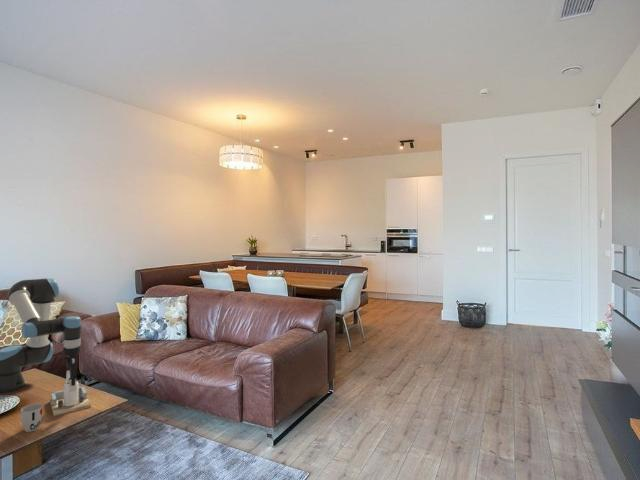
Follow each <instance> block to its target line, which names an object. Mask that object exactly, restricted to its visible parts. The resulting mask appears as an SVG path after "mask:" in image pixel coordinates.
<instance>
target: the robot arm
mask: <svg viewBox="0 0 640 480" xmlns="http://www.w3.org/2000/svg"><path fill="white" fill-rule="evenodd" d="M59 295H60V287H59V283H58V282H57V280H56V279H55V278H36V279H35V278H33V279H23V280H20V281H18V282H16V283H14V284H13V285H12V286H11V287H10V288H9V290H8V292H7V299H8V302H9V304H11V305H12V306H14V308H15V310H16V312H17V315H19V317H20V320H21V322H22V325H21V329H20V331H21V335H22V337H23V338H24V339H29V340H28V341H27V342H26V345H25V346H22V345H19V344H18V345H16V344H15V345H9V346H5V347H3V348H1V349H0V393H1V394H2V393H8V392H13V391H16V390H19V389H22V388H23V387H24V386H25V385H26V380H25V378H24V375H23V373H22V368H23V367H30V366H33V365H38V364H39V365H40V364H44V363H47V362H49V361H50V360H51V358H52V357H53V354H54V345H53V343H52V342H51V341H50V339H48V335H55V334H60V333H62V334H63V337H62V338H63V341H62V342H61V344H63V345H62V347H63V348H62V354H63V356H64V357H66V363H65V364H66V365H65V368H66V371H65V372H66V374H65V375H66V377H65V380H66V381H68V380H70V390H69V392H73V391H76V380H77V378H78V373H77V372H78V371H77V357H76V356H77V355H79V354H81V343H82V342H81V338H82V337H81V334H82V333H81V329H82V320H81V317H80V316H78V315H77V316H76V315H75V316H73V315H70V316H59V317H57V318H55V319H50V317H51V316H50V315H51V304H53V302H54V301H55V298H58V297H59ZM66 381H65V382H66Z"/></svg>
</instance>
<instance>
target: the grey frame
mask: <svg viewBox="0 0 640 480" xmlns="http://www.w3.org/2000/svg"><path fill="white" fill-rule="evenodd" d="M78 393H81V394H82V396H84V399H85V398H88V392H87V390H86V388H85V386H84V385H83V386H78ZM60 397H64V389H63V390H58V391H57V390H56V391H53V392H51V393H50V399H51V400H52V404H53V405H57V399H56V398H60Z"/></svg>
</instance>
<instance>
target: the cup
mask: <svg viewBox="0 0 640 480" xmlns="http://www.w3.org/2000/svg"><path fill="white" fill-rule="evenodd" d="M43 405H44V404H42V403H34V404H33V403H32V404H29V405H26V406H23V407H22V408H21V409H20V415H21V417H20V419H21V424H22V427H23V430H24V432H26V433H27V432H28V433H29V432H34V431H36V430H38V429H39V427H40V424H41V422H42V416H43V408H44V407H43Z"/></svg>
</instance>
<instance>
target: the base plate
mask: <svg viewBox="0 0 640 480" xmlns="http://www.w3.org/2000/svg"><path fill="white" fill-rule="evenodd" d="M56 399H57V405H53V404H52V400H51V398H50V399H49V404H50V407H51V412H52V415H53V417H55V416H59V415H64V414H67V413H71V412H76V411H79V410H84V409H89V408H91V406H92V405H91V401H90V399H89V398H88V397H87V398H85V399H84V396H82V394H81V393H78V403H77V404H76V405H74V406H70V407H66V406H64V405H63V401H64V397H60V398H56Z"/></svg>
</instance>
